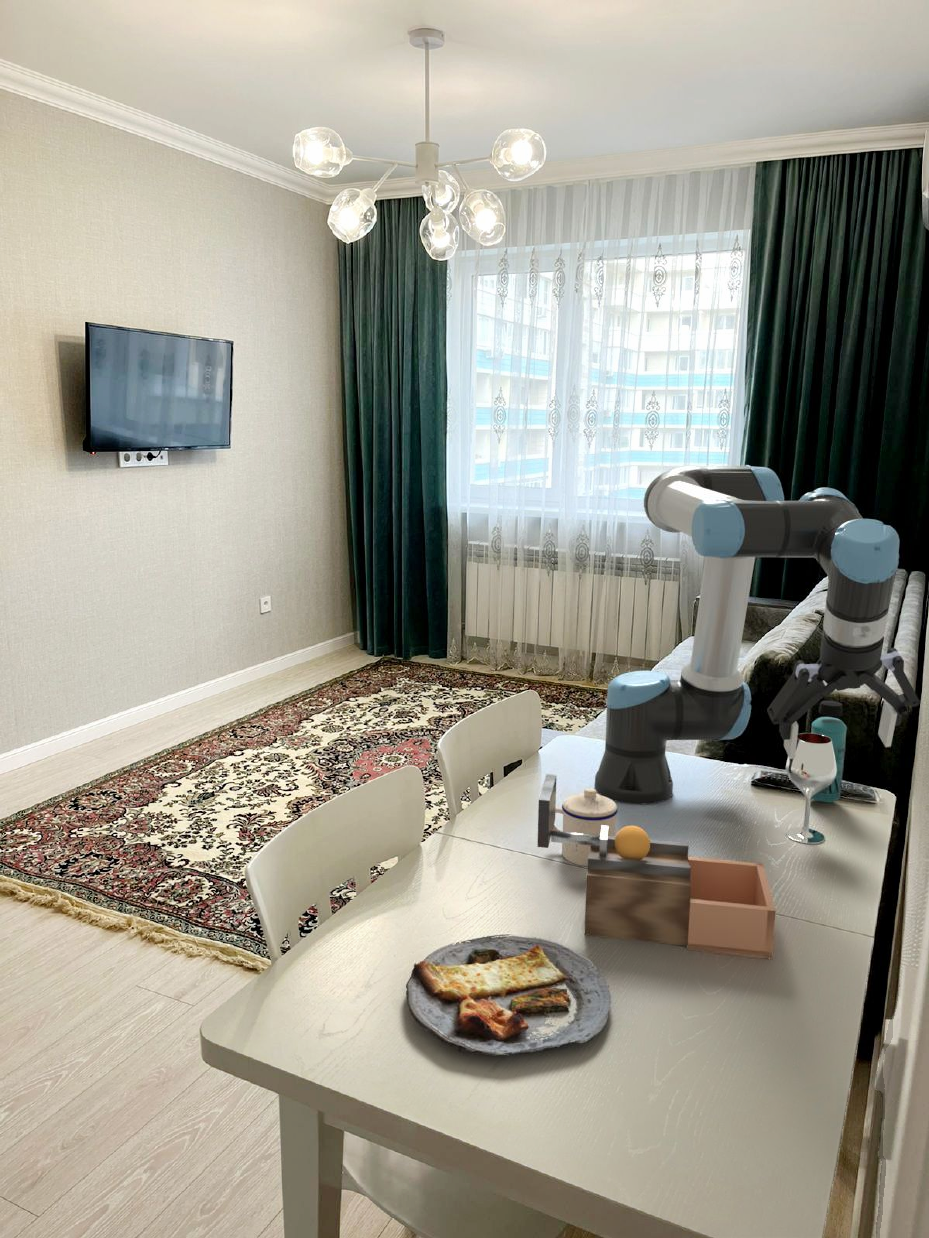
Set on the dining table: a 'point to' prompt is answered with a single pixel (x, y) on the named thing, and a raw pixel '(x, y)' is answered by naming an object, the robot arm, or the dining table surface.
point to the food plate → (506, 994)
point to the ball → (632, 843)
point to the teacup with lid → (585, 821)
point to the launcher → (639, 894)
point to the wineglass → (811, 777)
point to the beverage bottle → (838, 735)
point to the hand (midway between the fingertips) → (836, 746)
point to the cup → (730, 908)
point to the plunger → (546, 826)
